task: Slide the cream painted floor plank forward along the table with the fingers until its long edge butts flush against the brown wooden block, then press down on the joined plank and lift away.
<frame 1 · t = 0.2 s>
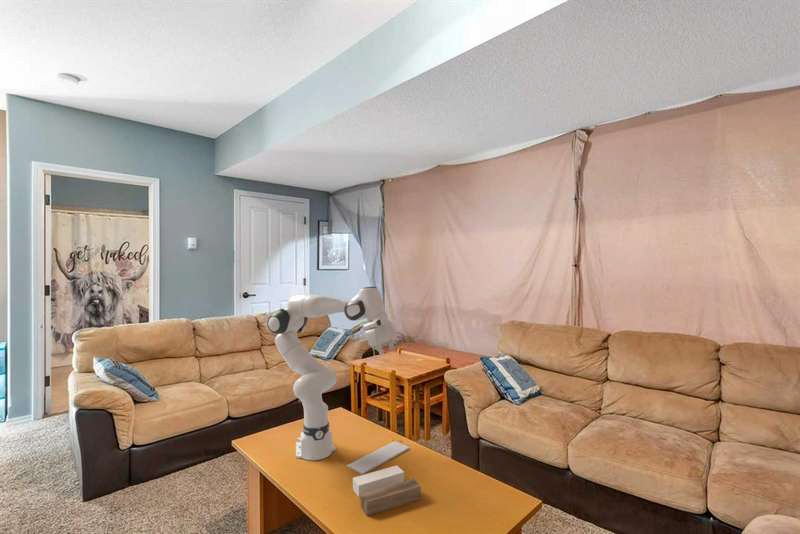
hand: (387, 352, 168), 51 cm above the table, tool tilted 20°, fingers open, 8 cm apart
cream floor plank: (378, 487, 156), on the table
brown wooden block: (391, 502, 146), on the table
baseboard molding: (378, 458, 180), on the table
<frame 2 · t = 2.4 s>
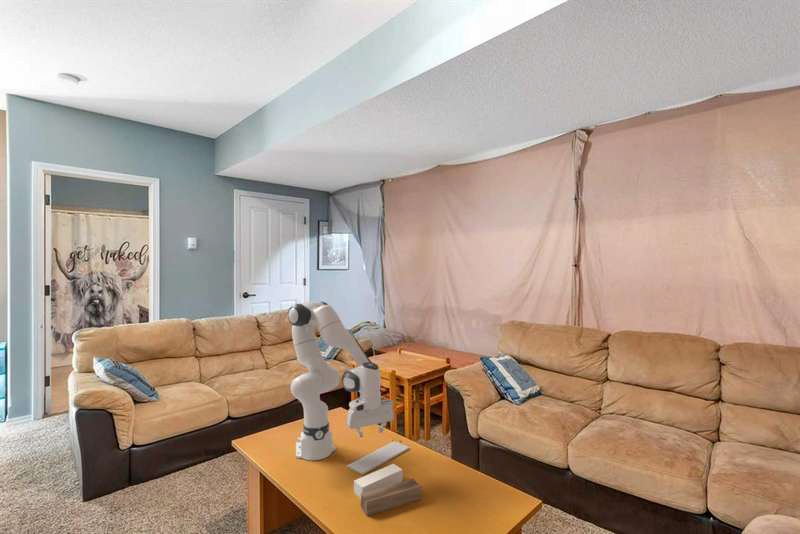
hand: (370, 434, 164), 17 cm above the table, tool pointing down, fingers open, 8 cm apart
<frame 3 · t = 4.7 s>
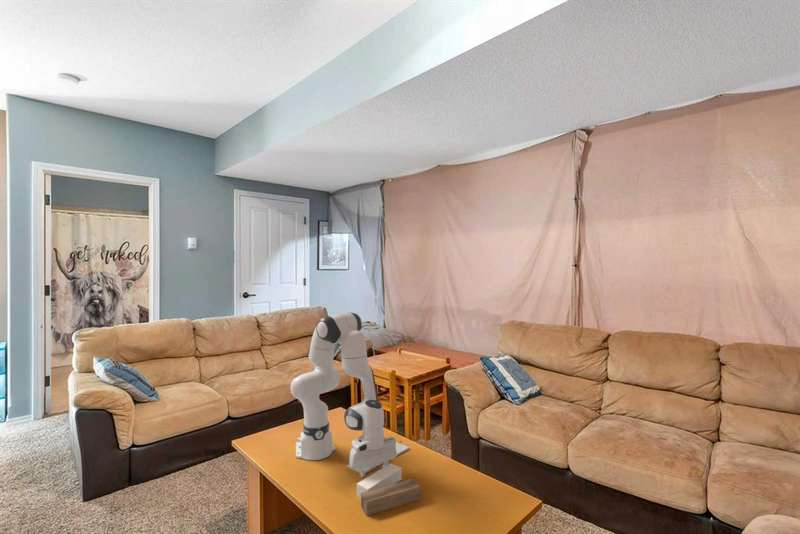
hand: (373, 473, 162), 2 cm above the table, tool pointing down, fingers open, 8 cm apart
cream floor plank: (379, 487, 156), on the table, touching gripper
everything else where it was.
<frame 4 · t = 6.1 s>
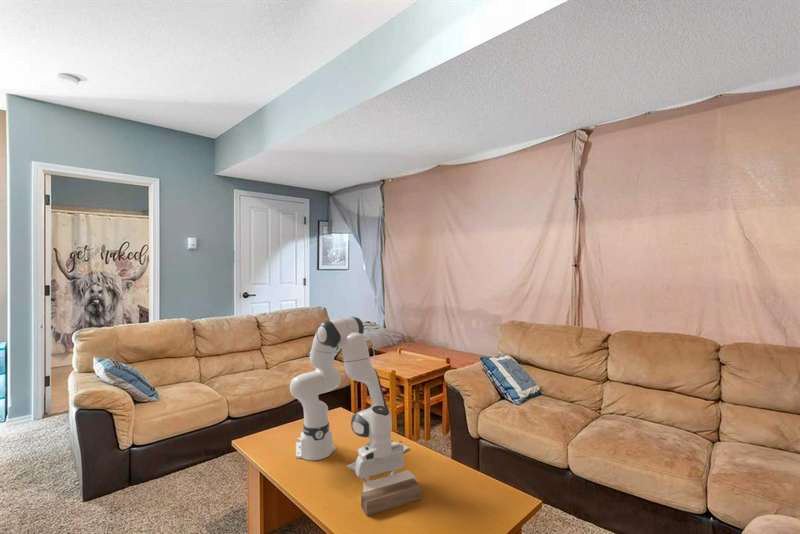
hand: (380, 482, 155), 2 cm above the table, tool pointing down, fingers open, 8 cm apart
cream floor plank: (389, 492, 152), on the table, touching gripper
everything else where it was.
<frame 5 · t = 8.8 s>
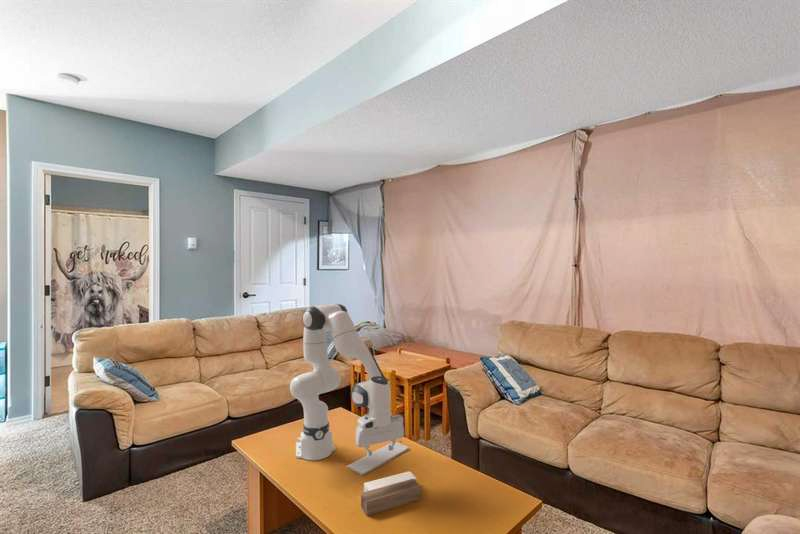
hand: (380, 452, 156), 14 cm above the table, tool pointing down, fingers open, 8 cm apart
cream floor plank: (390, 493, 152), on the table
everything else where it was.
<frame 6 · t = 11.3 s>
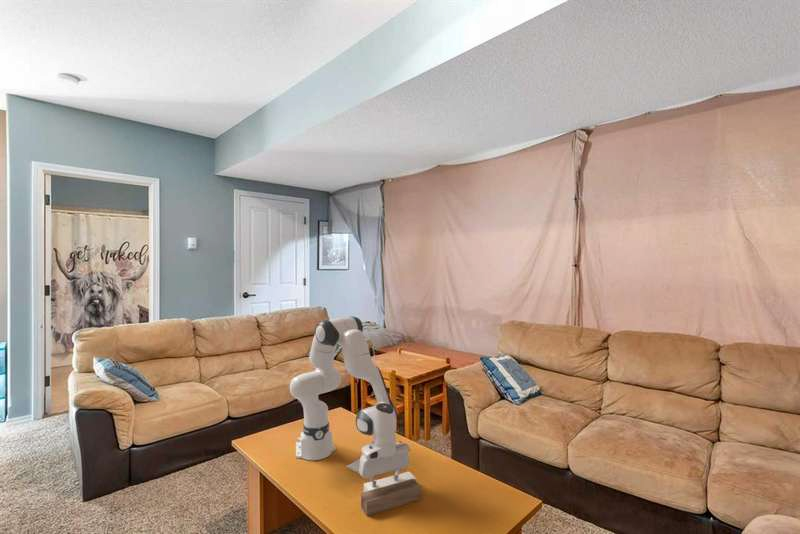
hand: (384, 482, 151), 5 cm above the table, tool pointing down, fingers open, 8 cm apart
nothing on the table moved.
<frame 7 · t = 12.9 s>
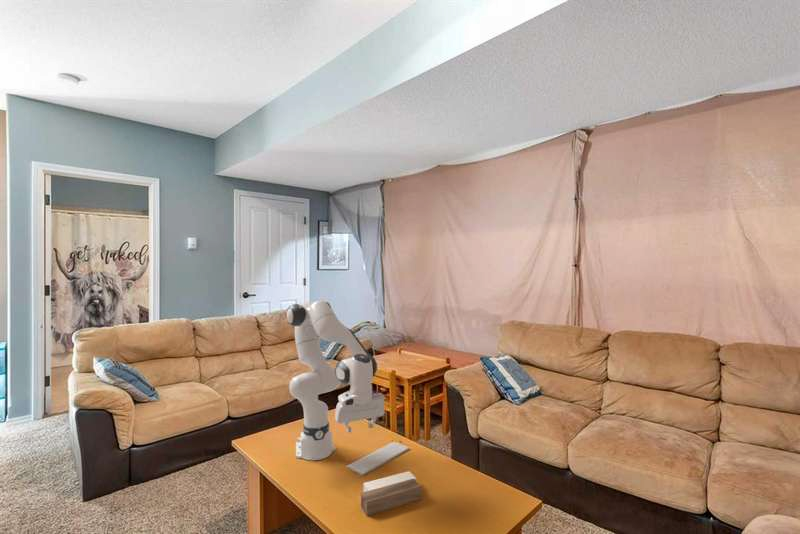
hand: (359, 429, 156), 23 cm above the table, tool pointing down, fingers open, 8 cm apart
nothing on the table moved.
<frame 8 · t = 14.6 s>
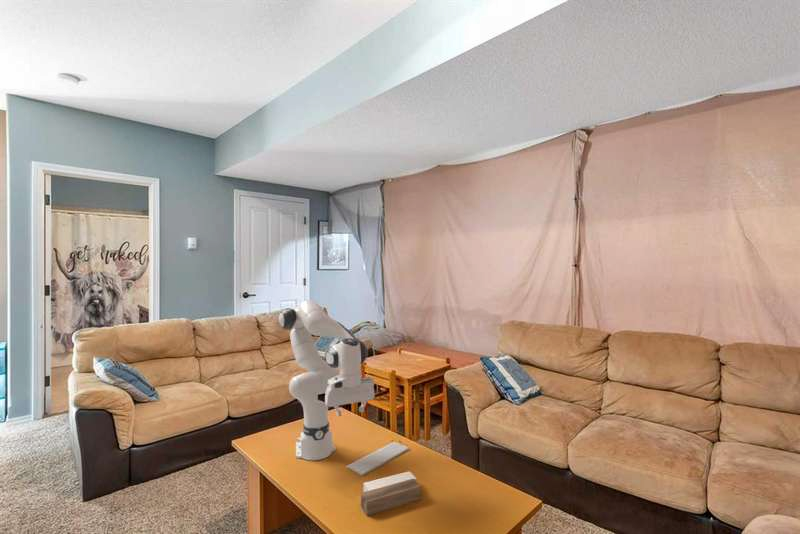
hand: (350, 413, 157), 29 cm above the table, tool pointing down, fingers open, 8 cm apart
nothing on the table moved.
at the end: cream floor plank 2.4 cm from the target spot, on the table; cream floor plank tilted 0° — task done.
